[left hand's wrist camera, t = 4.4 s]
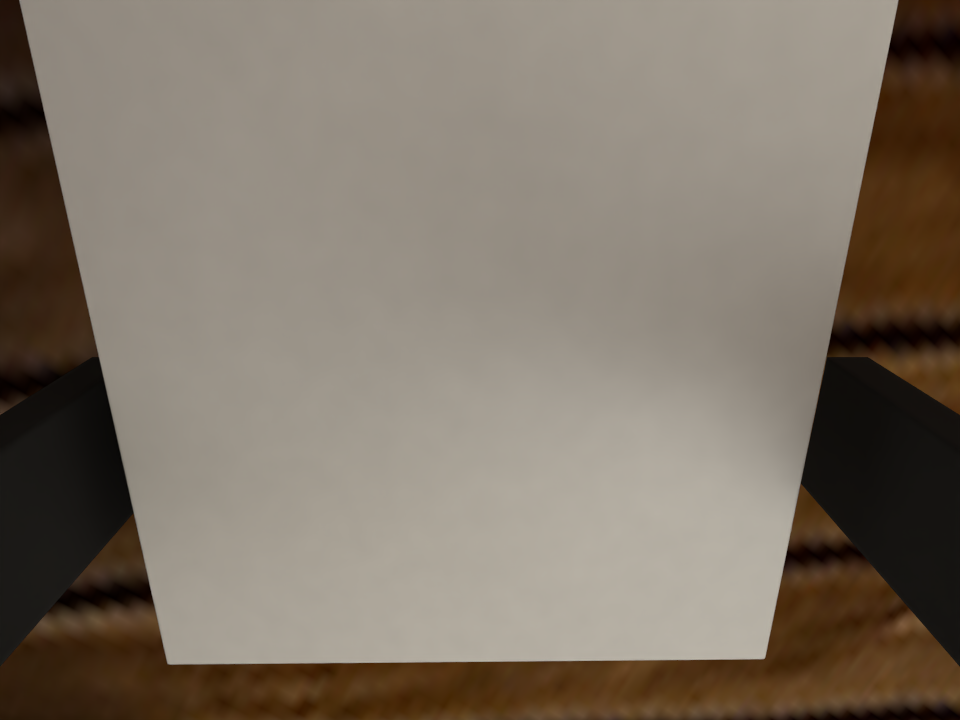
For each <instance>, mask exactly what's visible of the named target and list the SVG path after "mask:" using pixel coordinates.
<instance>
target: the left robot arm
mask: <svg viewBox="0 0 960 720" xmlns="http://www.w3.org/2000/svg"><path fill="white" fill-rule="evenodd" d="M801 484H802V485H803V486H804V487H805V489H806V490H807V491H808V492H809V493H810V494H811V496H812V497H813V498H814V499H815V500H816V501H817V502H818V504H819V505H820V506H821V507H822V508H823V509H824V510H825V512H826V513H827V514H828V515H829V516H830V517H831V519H832V520H833V521H834V522H835V523H836V524H837V525H838V527H839V528H840V529H841V530H842V531H843V532H844V534H845V535H846V536H847V537H848V538H849V539H850V540H851V542H852V543H853V544H854V545H855V546H856V547H857V549H858V550H859V551H860V552H861V553H862V554H863V555H864V557H865V558H866V559H867V560H868V561H869V562H870V564H871V565H872V566H873V567H874V568H875V569H876V570H877V572H878V573H879V574H880V575H881V576H882V577H883V578H884V580H885V581H886V582H887V583H888V584H889V585H890V587H891V588H892V589H893V590H894V591H895V592H896V593H897V595H898V596H899V597H900V598H901V599H902V600H903V602H904V603H905V604H906V605H907V606H908V607H909V608H910V610H911V611H912V612H913V613H914V614H915V615H916V617H917V618H918V619H919V620H920V621H921V622H922V623H923V625H924V626H925V627H926V628H927V629H928V630H929V631H930V633H931V634H932V635H933V636H934V637H935V638H936V640H937V641H938V642H939V643H940V644H941V645H942V646H943V648H944V649H945V650H946V651H947V652H948V653H949V655H950V656H951V657H952V658H953V659H954V660H955V661H956V663H957V664H958V665H959V666H960V415H959V414H957V413H956V412H954V411H952V410H951V409H949V408H948V407H946V406H944V405H943V404H941V403H940V402H938V401H936V400H935V399H933V398H932V397H930V396H929V395H927V394H925V393H924V392H922V391H921V390H919V389H917V388H916V387H914V386H913V385H911V384H909V383H908V382H906V381H905V380H903V379H901V378H900V377H898V376H897V375H895V374H894V373H892V372H890V371H889V370H887V369H886V368H884V367H882V366H881V365H879V364H878V363H876V362H874V361H873V360H871V359H870V358H868V357H827V361H826V365H825V370H824V375H823V380H822V385H821V389H820V394H819V399H818V404H817V408H816V413H815V418H814V423H813V428H812V432H811V437H810V442H809V447H808V452H807V456H806V461H805V466H804V471H803V476H802V480H801ZM133 513H134V512H133V507H132V503H131V498H130V494H129V489H128V485H127V480H126V476H125V471H124V467H123V462H122V458H121V453H120V449H119V444H118V440H117V435H116V431H115V427H114V422H113V418H112V413H111V409H110V404H109V400H108V395H107V391H106V386H105V382H104V377H103V373H102V368H101V364H100V359H99V357H92V358H90V359H89V360H87V361H86V362H84V363H82V364H81V365H79V366H78V367H76V368H74V369H73V370H71V371H70V372H68V373H66V374H65V375H63V376H62V377H60V378H59V379H57V380H55V381H54V382H52V383H51V384H49V385H47V386H46V387H44V388H43V389H41V390H39V391H38V392H36V393H35V394H33V395H31V396H30V397H28V398H27V399H25V400H24V401H22V402H20V403H19V404H17V405H16V406H14V407H12V408H11V409H9V410H8V411H6V412H4V413H3V414H1V415H0V666H1V665H2V664H3V663H4V661H5V660H6V659H7V658H8V657H9V656H10V655H11V653H12V652H13V651H14V650H15V649H16V648H17V646H18V645H19V644H20V643H21V642H22V641H23V640H24V638H25V637H26V636H27V635H28V634H29V633H30V631H31V630H32V629H33V628H34V627H35V626H36V625H37V623H38V622H39V621H40V620H41V619H42V618H43V617H44V615H45V614H46V613H47V612H48V611H49V610H50V608H51V607H52V606H53V605H54V604H55V603H56V602H57V600H58V599H59V598H60V597H61V596H62V595H63V593H64V592H65V591H66V590H67V589H68V588H69V587H70V585H71V584H72V583H73V582H74V581H75V580H76V578H77V577H78V576H79V575H80V574H81V573H82V572H83V570H84V569H85V568H86V567H87V566H88V565H89V564H90V562H91V561H92V560H93V559H94V558H95V557H96V555H97V554H98V553H99V552H100V551H101V550H102V549H103V547H104V546H105V545H106V544H107V543H108V542H109V540H110V539H111V538H112V537H113V536H114V535H115V534H116V532H117V531H118V530H119V529H120V528H121V527H122V525H123V524H124V523H125V522H126V521H127V520H128V519H129V517H130V516H131V515H132V514H133Z"/></svg>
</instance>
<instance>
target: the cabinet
mask: <svg viewBox="0 0 960 720" xmlns="http://www.w3.org/2000/svg"><path fill="white" fill-rule="evenodd" d="M19 1H20V6H21V10H22V14H23V19H24V23H25V28H26V32H27V37H28V41H29V46H30V50H31V55H32V59H33V64H34V68H35V73H36V77H37V82H38V86H39V91H40V95H41V100H42V104H43V109H44V113H45V117H46V122H47V126H48V131H49V135H50V140H51V144H52V149H53V153H54V158H55V162H56V167H57V171H58V176H59V180H60V185H61V189H62V194H63V198H64V203H65V207H66V212H67V216H68V220H69V225H70V229H71V234H72V238H73V243H74V247H75V252H76V256H77V261H78V265H79V270H80V274H81V279H82V283H83V288H84V292H85V297H86V301H87V306H88V310H89V315H90V319H91V324H92V328H93V332H94V337H95V341H96V346H97V350H98V355H99V359H100V364H101V368H102V373H103V377H104V382H105V386H106V391H107V395H108V400H109V404H110V409H111V413H112V418H113V422H114V427H115V431H116V435H117V440H118V444H119V449H120V453H121V458H122V462H123V467H124V471H125V476H126V480H127V485H128V489H129V494H130V498H131V503H132V507H133V512H134V516H135V521H136V525H137V530H138V534H139V538H140V543H141V547H142V552H143V556H144V561H145V565H146V570H147V574H148V579H149V583H150V588H151V592H152V597H153V601H154V606H155V610H156V615H157V619H158V624H159V628H160V633H161V637H162V642H163V646H164V650H165V655H166V659H167V663H168V664H268V663H379V662H490V661H600V660H711V659H764V658H765V656H766V651H767V646H768V641H769V636H770V631H771V626H772V621H773V616H774V611H775V606H776V601H777V597H778V592H779V587H780V582H781V577H782V572H783V567H784V562H785V557H786V552H787V547H788V542H789V537H790V532H791V527H792V523H793V518H794V513H795V508H796V503H797V498H798V493H799V488H800V483H801V478H802V473H803V468H804V463H805V458H806V453H807V449H808V444H809V439H810V434H811V429H812V424H813V419H814V414H815V409H816V404H817V399H818V394H819V389H820V384H821V379H822V375H823V370H824V365H825V360H826V355H827V350H828V345H829V340H830V335H831V330H832V325H833V320H834V315H835V310H836V305H837V301H838V296H839V291H840V286H841V281H842V276H843V271H844V266H845V261H846V256H847V251H848V246H849V241H850V236H851V231H852V227H853V222H854V217H855V212H856V207H857V202H858V197H859V192H860V187H861V182H862V177H863V172H864V167H865V162H866V157H867V153H868V148H869V143H870V138H871V133H872V128H873V123H874V118H875V113H876V108H877V103H878V98H879V93H880V88H881V83H882V79H883V74H884V69H885V64H886V59H887V54H888V49H889V44H890V39H891V34H892V29H893V24H894V19H895V14H896V9H897V5H898V0H19Z"/></svg>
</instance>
